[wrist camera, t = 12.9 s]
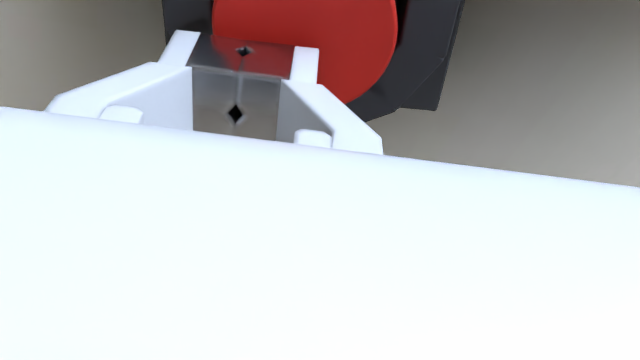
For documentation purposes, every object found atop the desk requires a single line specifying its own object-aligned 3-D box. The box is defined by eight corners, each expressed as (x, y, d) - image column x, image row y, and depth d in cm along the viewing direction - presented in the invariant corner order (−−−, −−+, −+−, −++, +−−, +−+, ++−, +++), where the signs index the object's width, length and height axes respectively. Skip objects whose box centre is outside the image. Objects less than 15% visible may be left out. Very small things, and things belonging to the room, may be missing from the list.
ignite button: (227, 69, 15) (213, 104, 13) (223, -98, 12) (207, -76, 11) (379, 84, 15) (381, 121, 13) (408, -78, 12) (414, -54, 11)
